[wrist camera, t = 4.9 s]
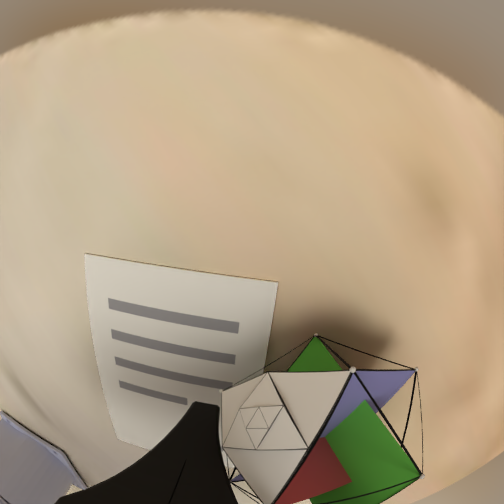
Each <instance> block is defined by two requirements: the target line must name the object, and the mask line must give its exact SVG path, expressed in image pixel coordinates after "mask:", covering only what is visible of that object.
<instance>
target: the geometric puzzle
mask: <svg viewBox="0 0 504 504" xmlns="http://www.w3.org/2000/svg"><path fill="white" fill-rule="evenodd" d="M319 337H321V336H318V334H317V333H315V334H314V336H313V338H312V337H311V338H312V340H311V341H310V342H309V343H308V345H307V346H306V347H305V349H304V350H303V351H302V353H301V354H300V355H299V356H298V358H297V359H296V360H295V362H294V363H293V364H292V365H291V367H290V368H289V369H288V370H287V371H286V372H278V371H267V372H265V373H263V374H261V375H259V376H256V377H254V378H252V379H249V380H247V381H245V382H243V383H240V384H238V385H235V384H234V385H235V386H233V385H232V386H233V387H231V386H230V387H231V388H229V387H228V388H226V389H225V390H222V389H221V390H219V393H220V394H221V428H222V448H223V450H224V451H225V453H226V456H228V457H229V459H230V460H231V462H232V463H233V465H234V466H235V468H234V470H233V473H232V475H231V477H230V478H229V482H230V483H232V482H239V481H246V483H247V484H248V485H249V487H250V488H251V489H252V491H253V492H254V493H255V495H256V496H257V497H256V496H254V495H253V494H251V493H249V492H247V491H245V490H244V489H242V488H240V487H239V486H237V485H235V484H234V483H232V484H233V485H234V486H235V487H236V486H237V487H239V488H240V489H242V490H244V491H245V492H247V493H249V494H251V495H252V496H254V497H256V498H258V499H259V500H260V501H261V502H262V503H263V504H293V503H296V502H299V501H303V500H306V499H310V501H311V503H312V504H380V503H382V502H383V501H385V500H387V499H389V498H390V497H392V496H393V495H395V494H397V493H398V492H400V491H401V490H403V489H405V488H406V487H408V486H409V485H410V484H412V483H413V482H415V481H416V480H418V479H419V478H420V479H423V478H424V477H425V475H424V474H423V459H422V473H421V471H420V470H419V468H418V466H417V465H416V463H415V462H414V460H413V459H412V457H411V455H410V454H409V452H408V451H407V449H406V448H405V446H404V444H403V442H404V438H405V434H406V429H407V425H408V421H409V416H410V411H411V406H412V400H413V395H414V388H415V382H416V375H417V371H418V367H415V369H413V368H410V367H407V366H404V365H401V364H398V363H395V362H392V361H389V360H386V359H383V358H380V357H377V356H374V355H371V354H368V353H365V352H362V351H359V350H356V349H354V348H351V347H348V346H345V345H342V344H340V343H337V342H334V341H332V342H334V343H337V344H340V345H342V346H345V347H348V348H351V349H354V350H356V351H359V352H362V353H365V354H368V355H371V356H374V357H377V358H380V359H383V360H386V361H389V362H392V363H395V364H398V365H401V366H404V367H407V368H410V369H405V370H372V369H356V368H355V367H351V366H350V365H349V364H348V363H346V362H345V361H344V360H343V359H342V358H341V357H340V356H339V355H338V354H337V353H336V352H335V351H333V350H332V349H331V348H330V347H329V346H328V345H327V344H326V343H325V342H324V341H323V340H322V339H320V338H319ZM311 338H310V339H311ZM321 338H323V337H321ZM324 339H326V338H324ZM308 340H309V339H308ZM308 340H307V341H308ZM326 340H329V339H326ZM329 341H331V340H329ZM305 342H306V341H305ZM305 342H304V343H305ZM322 343H323V344H324V345H325V346H326V347H327V348H328V349H329V350H331V351H332V352H333V353H334V354H335V355H336V356H337V357H338V358H339V359H340V360H341V361H342V362H343V363H344V364H345V365H346V366H347V367H348V368H349V370H342V369H341V367H340V366H339V365H338V363H337V362H336V361H335V359H334V358H333V357H332V355H331V354H330V353H329V351H328V350H327V349H326V348H325V346H324V345H323V344H322ZM302 344H303V343H302ZM302 344H301V345H302ZM299 346H300V345H299ZM299 346H298V347H299ZM296 348H297V347H296ZM296 348H295V349H296ZM293 350H294V349H293ZM291 351H292V350H291ZM291 351H290V352H291ZM288 353H289V352H288ZM288 353H287V354H288ZM285 355H286V354H285ZM282 357H283V356H282ZM280 358H281V357H280ZM280 358H279V359H280ZM277 360H278V359H277ZM275 361H276V360H275ZM275 361H274V362H275ZM272 363H273V362H272ZM270 364H271V363H270ZM270 364H269V365H270ZM267 366H268V365H267ZM265 367H266V366H265ZM265 367H264V368H265ZM262 369H263V368H262ZM260 370H261V369H260ZM260 370H259V371H260ZM257 372H258V371H257ZM414 372H415V377H414V384H413V390H412V396H411V402H410V408H409V413H408V418H407V422H406V427H405V431H404V435H403V439H402V441H401V440H400V438H399V437H398V435H397V434H396V432H395V431H394V429H393V427H392V426H391V424H390V423H389V421H388V420H387V418H386V417H385V415H384V414H383V412H382V411H381V408H382V407H383V406H384V405H385V404H386V403H387V402H388V401H389V400H390V399H391V398H392V397H393V396H394V394H395V393H396V392H397V391H398V390H399V389H400V388H401V387H402V386H403V385H404V384H405V383H406V381H407V380H408V379H409V378H410V377H411V376H412V375H413V373H414ZM255 373H256V372H255ZM255 373H253V374H255ZM253 374H252V375H253ZM250 376H251V375H250ZM248 377H249V376H248ZM248 377H246V378H248ZM246 378H245V379H246ZM417 378H418V375H417ZM243 380H244V379H243ZM241 381H242V380H241ZM239 382H240V381H239ZM239 382H237V383H239ZM237 383H236V384H237ZM418 386H419V383H418ZM419 396H420V391H419ZM420 407H421V401H420ZM378 411H379V412H380V414H381V415H382V417H383V418H384V420H385V421H386V423H387V424H388V426H389V427H390V429H391V430H392V432H393V434H394V435H395V437H396V438H397V440H398V441H399V443H400V444H401V447H400V445H399V444H398V443H397V441H396V440H395V439H394V437H393V436H392V435H391V433H390V432H389V431H388V429H387V428H386V427H385V425H384V424H383V423H382V421H381V420H380V419H379V418H378V416H377V415H376V413H377V412H378ZM421 421H422V413H421ZM402 447H403V449H404V450H405V452H406V453H405V452H404V451H403V449H402ZM422 451H423V431H422ZM406 454H407V455H408V456H407V455H406ZM409 458H410V459H409ZM227 466H228V458H227ZM236 469H237V470H238V472H239V473H240V474H239V475H238V476H236V477H235V478H234V479H232V477H233V475H234V472H235V470H236ZM228 476H229V468H228ZM231 479H232V480H231ZM239 488H238V489H239ZM240 489H239V490H240ZM242 492H243V491H242ZM243 493H244V492H243ZM244 494H245V493H244ZM246 495H247V494H246ZM247 496H248V495H247ZM250 498H251V497H250ZM251 499H252V498H251ZM253 500H254V499H253ZM254 501H255V500H254ZM256 502H257V501H256ZM257 503H258V502H257ZM258 504H259V503H258Z"/></svg>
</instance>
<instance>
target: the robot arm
mask: <svg viewBox="0 0 504 504" xmlns="http://www.w3.org/2000/svg"><path fill="white" fill-rule="evenodd" d="M0 415H1V417H2V419H1V420H0V504H238V502H237V500H236V498H235V495H234V493H233V490H232V487H231V485H230V482H229V479H228V476H227V472H226V469H225V465H224V461H223V457H222V452H221V446H220V439H219V416H220V407H219V406H218V405H214V404H208V403H203V402H197V401H195V402H193V403H192V405H191V406H190V408H189V409H188V410H187V412H186V413H185V415H184V416H183V417H182V418H181V420H180V421H179V422H178V423H177V424H176V426H175V427H174V428H173V429H172V430H171V431H170V432H169V433H168V434H167V435H166V436H165V437H164V438H163V439H162V440H161V441H160V442H159V443H158V444H157V445H156V446H155V447H154V448H153V449H152V450H150V451H149V452H148V453H147V454H146V455H144V456H143V457H142V458H141V459H139V460H138V461H137V462H135V463H134V464H132V465H131V466H129V467H128V468H126V469H125V470H123V471H122V472H120V473H118V474H117V475H115V476H113V477H111V478H109V479H107V480H105V481H103V482H101V483H99V484H97V485H94V486H92V487H90V488H87V487H86V485H85V484H84V482H83V481H82V480H81V478H80V477H79V475H78V474H77V472H76V471H75V469H74V468H73V466H72V465H71V463H70V462H69V460H68V458H67V457H66V455H65V454H64V453H63V452H62V451H61V450H59V449H57V448H55V447H54V446H52V445H50V444H49V443H47V442H45V441H44V440H42V439H41V438H39V437H37V436H36V435H34V434H33V433H31V432H30V431H28V430H27V429H26V428H24V427H23V426H21V425H20V424H18V423H17V422H16V421H14V420H13V419H12V418H10V417H9V416H8V415H6V414H5V413H4V412H3V411H1V412H0ZM72 484H73V485H75V486H77V487H79V488H81V489H83V490H82V491H79V492H75V493H72V494H69V495H66V493H67V492H68V490H69V488H70V487H71V485H72Z"/></svg>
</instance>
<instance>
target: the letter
mask: <svg viewBox="0 0 504 504" xmlns="http://www.w3.org/2000/svg"><path fill="white" fill-rule="evenodd" d="M84 259H85V278H86V292H87V302H88V311H89V319H90V327H91V333H92V340H93V346H94V351H95V357H96V362H97V367H98V371H99V376H100V380H101V384H102V389H103V393H104V396H105V400H106V404H107V407H108V411H109V414H110V418H111V421H112V424H113V427H114V430H115V433H116V436H117V439H118V440H121V441H124V442H126V443H129V444H132V445H135V446H138V447H141V448H145V449H148V450H152V449H153V448H154V447H155V446H156V445H157V444H158V443H159V442H160V441H161V440H162V439H163V438H164V437H165V436H166V435H167V434H168V433H169V432H170V431H171V430H172V429H173V428H174V427H175V426H176V424H177V423H178V422H179V421H180V420H181V418H182V417H183V416H184V415H185V413H186V412H187V410H188V409H189V408H190V406H191V405H192V403H193V402H195V401H197V402H203V403H208V404H214V405H218V406H219V407H220V416H219V439H220V446H221V452H222V457H223V461H224V465H225V467H231V468H235V466H234V465H233V463H232V462H231V460H230V459H229V457H228V456H226V453H225V451H224V450H223V448H222V428H221V394H220V393H219V390H221V389H222V390H225V389H226V388H228V387H229V388H231V387H233V386H235V385H238V384H240V383H243V382H245V381H247V380H249V379H252V378H254V377H256V376H259V375H261V374H263V371H264V365H265V360H266V354H267V348H268V343H269V337H270V331H271V325H272V319H273V313H274V307H275V300H276V294H277V288H278V282H275V281H267V280H259V279H251V278H244V277H236V276H229V275H221V274H214V273H207V272H200V271H193V270H186V269H179V268H173V267H166V266H160V265H153V264H147V263H140V262H134V261H128V260H122V259H116V258H110V257H104V256H98V255H93V254H87V253H85V254H84ZM262 368H263V369H262ZM260 369H261V370H260ZM259 370H260V371H259ZM257 371H258V372H257ZM255 372H256V373H255ZM253 373H255V374H253ZM252 374H253V375H252ZM250 375H251V376H250ZM248 376H249V377H248ZM246 377H248V378H246ZM245 378H246V379H245ZM243 379H244V380H243ZM241 380H242V381H241ZM239 381H240V382H239ZM237 382H239V383H237ZM236 383H237V384H236ZM234 384H235V385H234ZM232 385H233V386H232ZM230 386H231V387H230ZM227 458H228V466H227Z"/></svg>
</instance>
